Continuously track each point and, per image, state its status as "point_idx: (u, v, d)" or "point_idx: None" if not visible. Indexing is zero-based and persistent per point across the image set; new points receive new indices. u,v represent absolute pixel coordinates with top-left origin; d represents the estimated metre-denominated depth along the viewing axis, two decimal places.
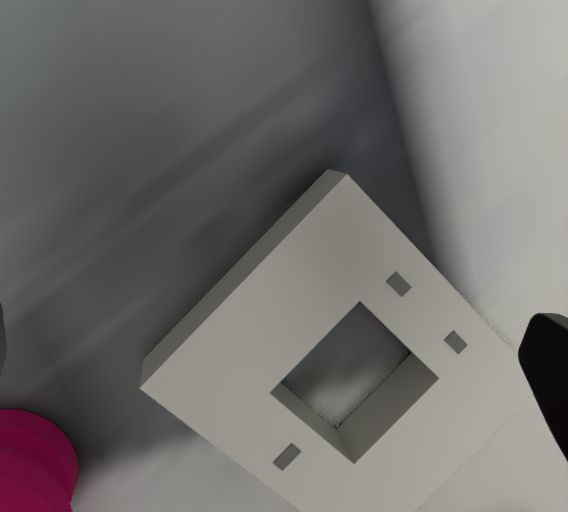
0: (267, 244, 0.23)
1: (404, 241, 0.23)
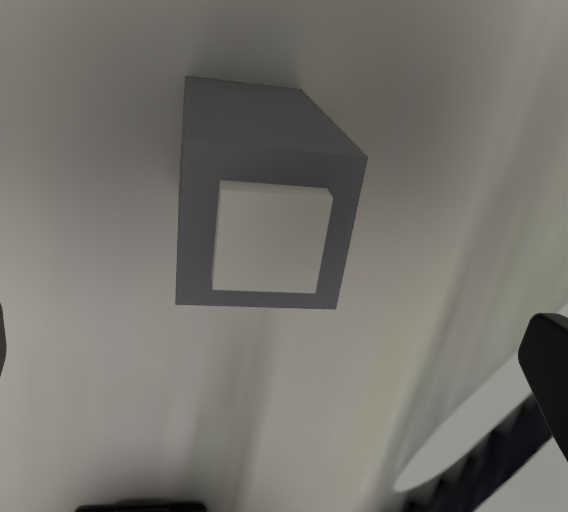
0: None
1: None
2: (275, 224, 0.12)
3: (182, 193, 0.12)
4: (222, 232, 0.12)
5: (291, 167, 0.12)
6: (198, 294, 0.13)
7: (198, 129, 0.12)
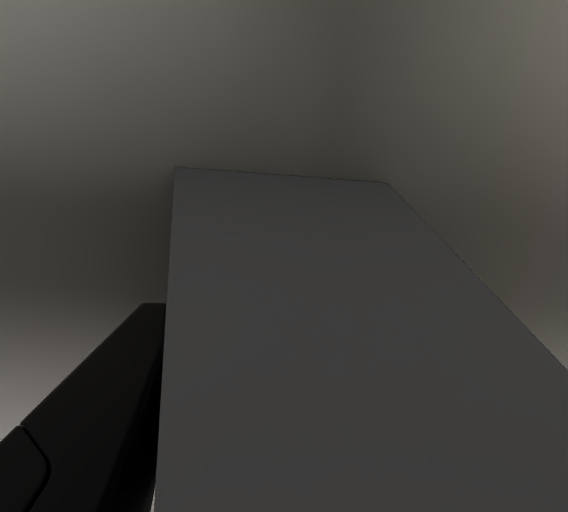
0: None
1: None
2: None
3: None
4: None
5: None
6: None
7: (200, 501, 0.04)
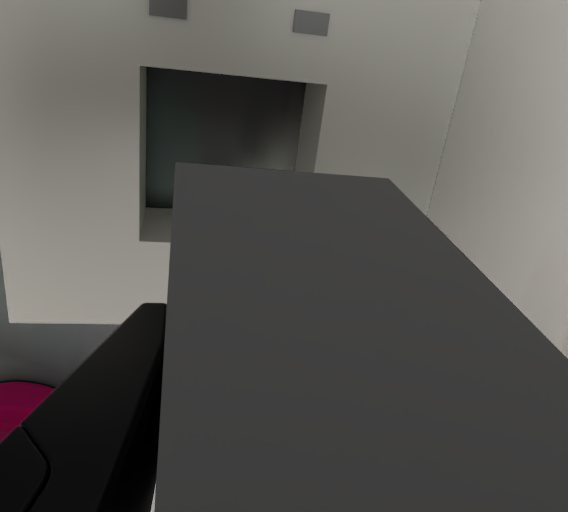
0: None
1: None
2: None
3: None
4: None
5: None
6: None
7: (202, 490, 0.04)
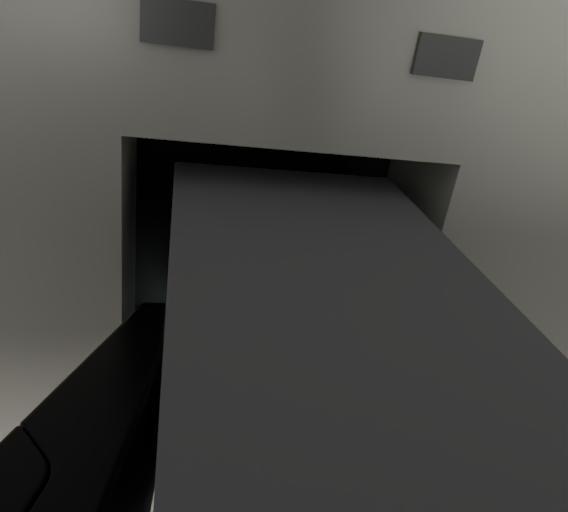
0: None
1: None
2: None
3: None
4: None
5: None
6: None
7: (200, 492, 0.04)
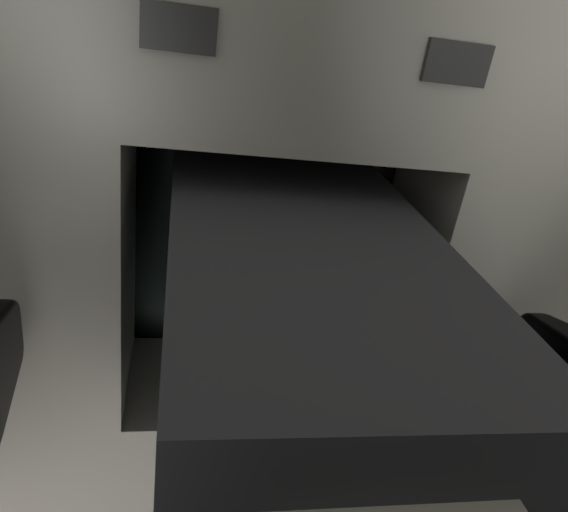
0: None
1: None
2: None
3: None
4: None
5: (442, 470, 0.04)
6: None
7: (195, 351, 0.05)
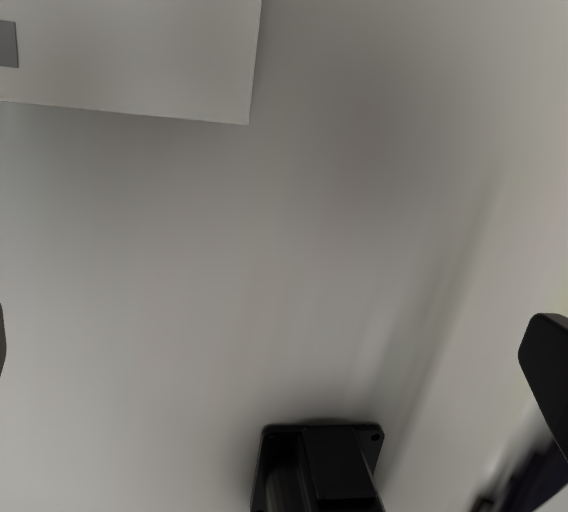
0: None
1: None
2: None
3: None
4: None
5: None
6: None
7: None
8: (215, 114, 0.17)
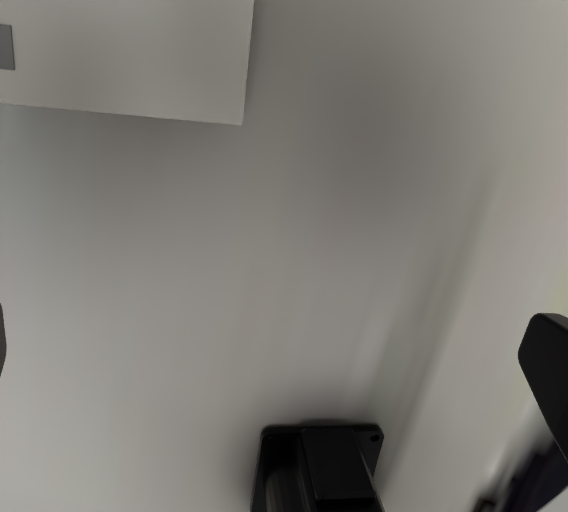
0: None
1: None
2: None
3: None
4: None
5: None
6: None
7: None
8: (209, 114, 0.17)
